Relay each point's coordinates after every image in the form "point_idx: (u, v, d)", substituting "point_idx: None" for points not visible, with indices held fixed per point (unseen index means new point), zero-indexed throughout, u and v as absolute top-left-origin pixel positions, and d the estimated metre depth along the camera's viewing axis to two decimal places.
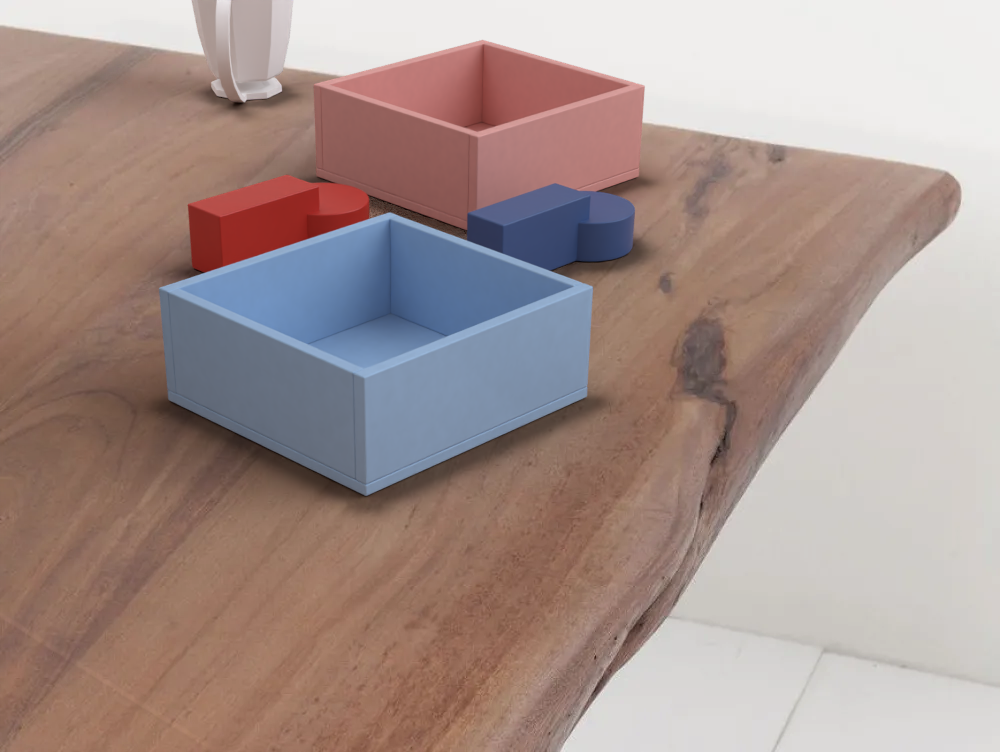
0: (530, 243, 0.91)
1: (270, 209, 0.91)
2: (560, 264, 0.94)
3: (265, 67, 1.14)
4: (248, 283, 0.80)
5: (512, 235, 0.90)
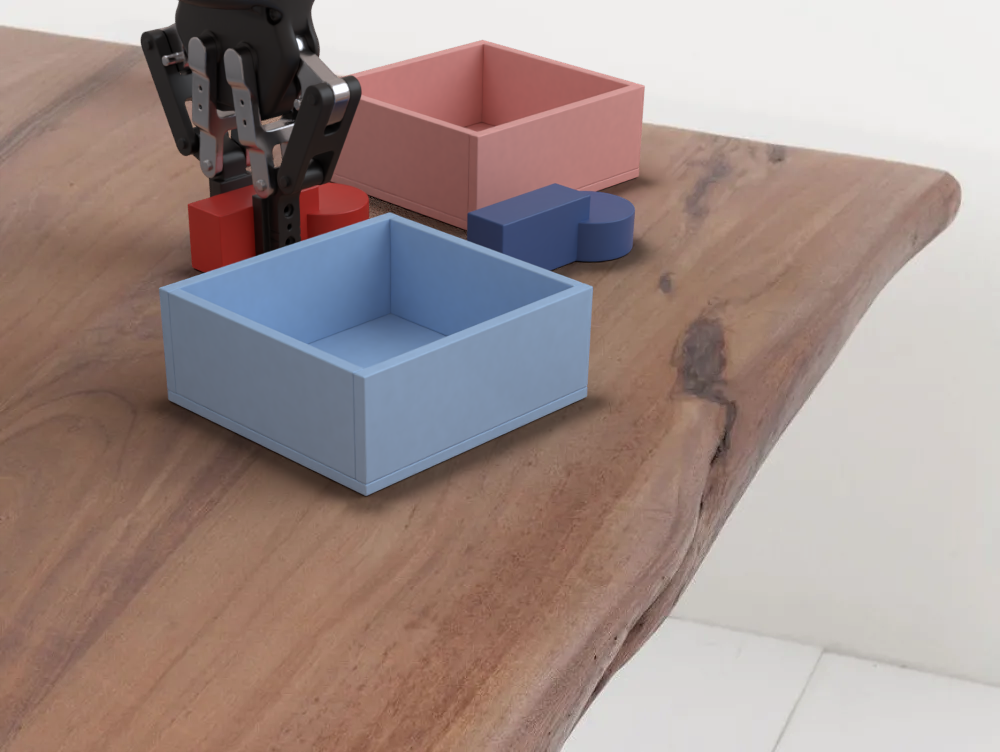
0: (530, 243, 0.91)
1: None
2: (560, 264, 0.94)
3: None
4: (248, 283, 0.80)
5: (512, 235, 0.90)
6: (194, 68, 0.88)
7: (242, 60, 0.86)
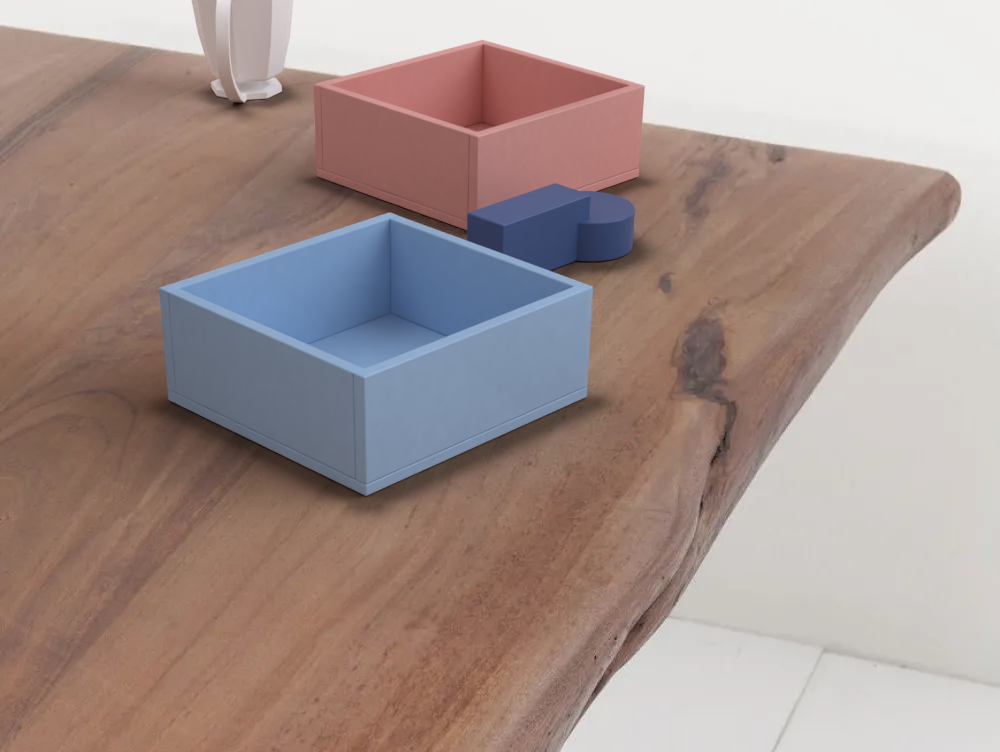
0: (530, 243, 0.91)
1: None
2: (560, 264, 0.94)
3: (265, 67, 1.14)
4: (248, 283, 0.80)
5: (512, 235, 0.90)
6: None
7: None
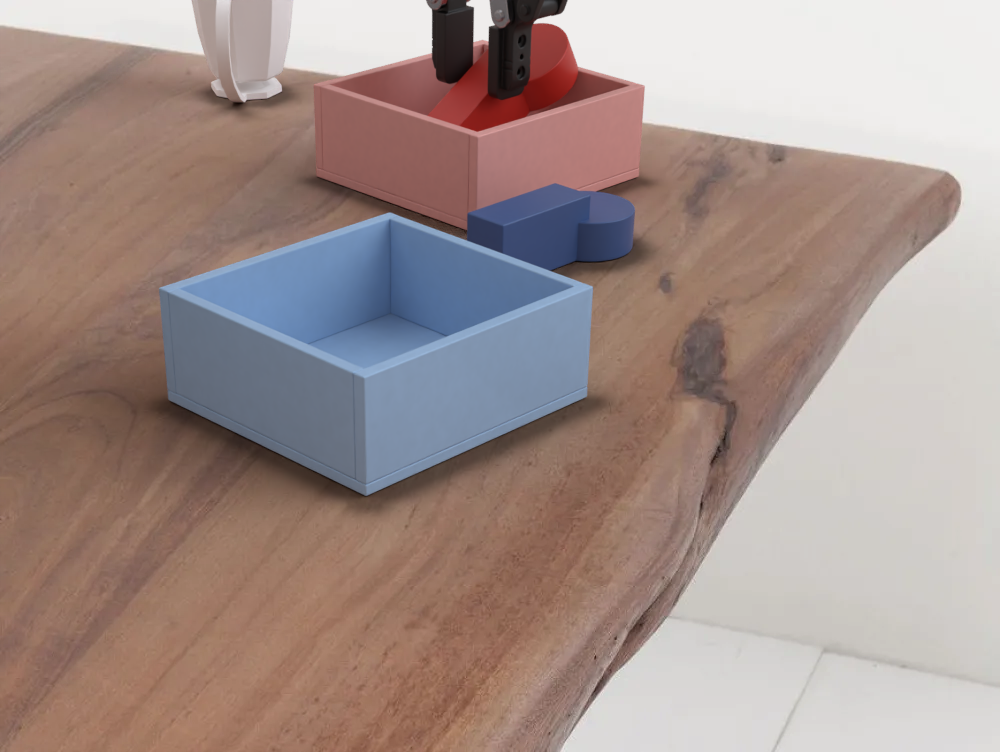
0: (530, 243, 0.91)
1: (488, 101, 1.01)
2: (560, 264, 0.94)
3: (264, 67, 1.14)
4: (248, 283, 0.80)
5: (512, 235, 0.90)
6: None
7: None
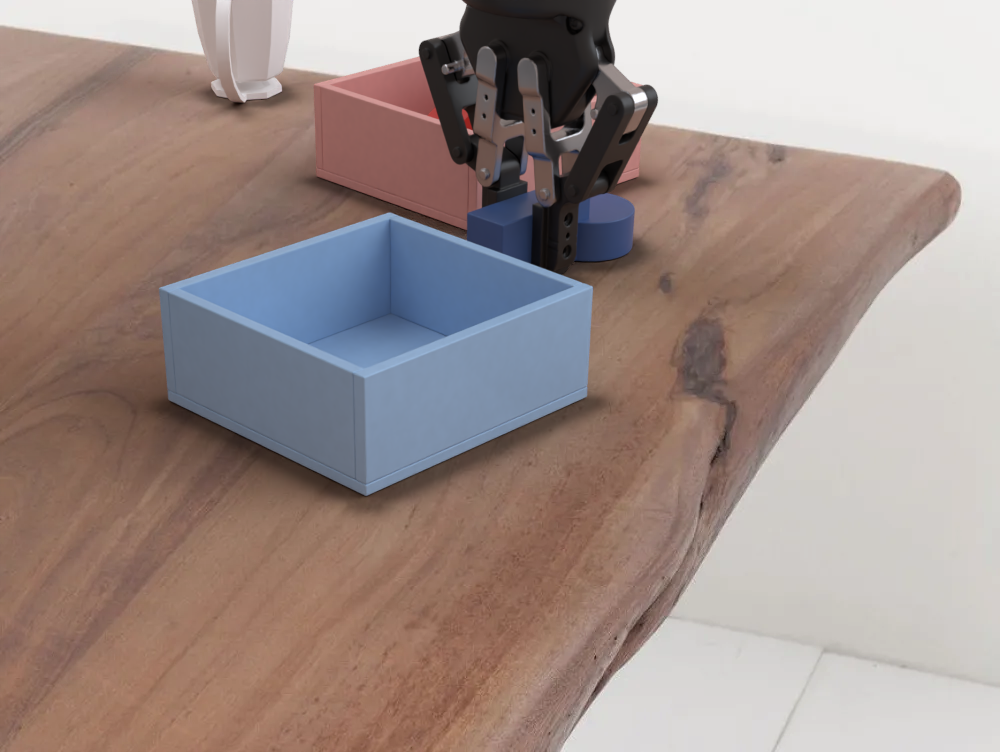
0: (530, 243, 0.91)
1: None
2: None
3: (264, 67, 1.14)
4: (248, 283, 0.80)
5: (512, 235, 0.90)
6: (482, 77, 0.88)
7: (538, 69, 0.86)
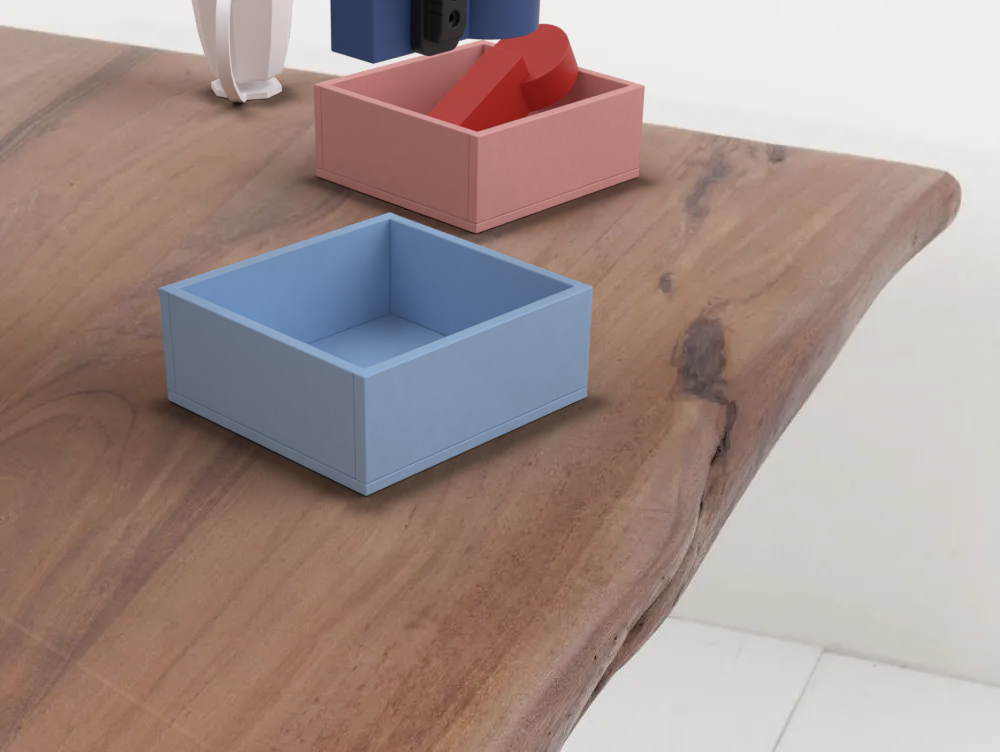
0: (409, 7, 0.74)
1: (488, 101, 1.01)
2: None
3: (265, 67, 1.14)
4: (248, 283, 0.80)
5: None
6: None
7: None
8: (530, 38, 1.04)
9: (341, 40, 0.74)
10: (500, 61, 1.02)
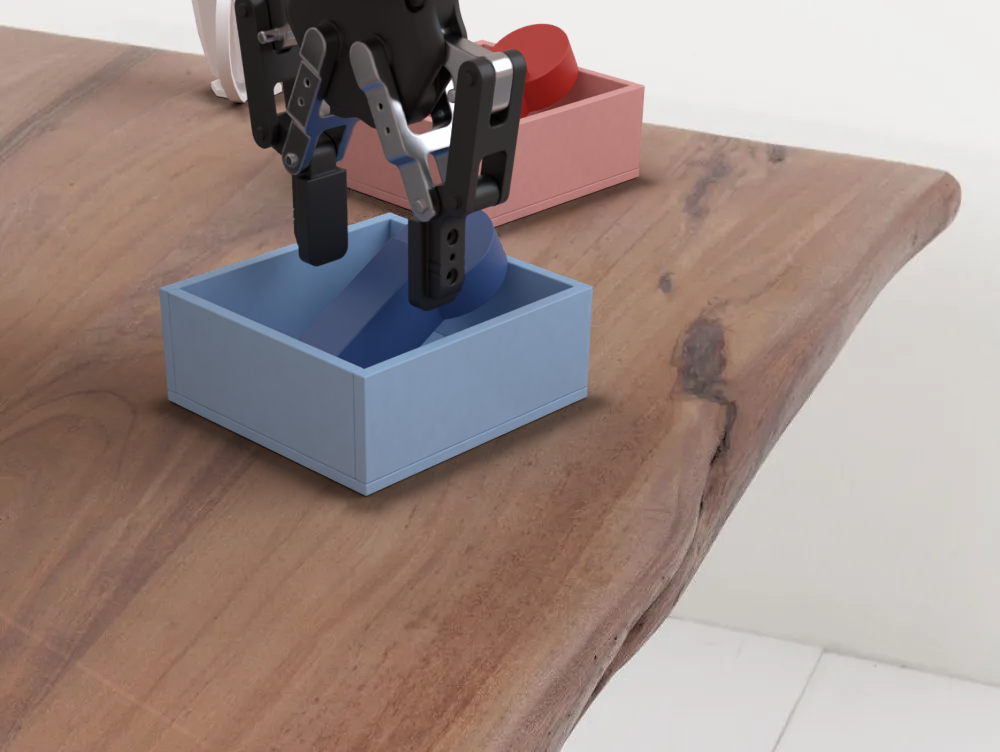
0: (377, 348, 0.78)
1: None
2: (425, 337, 0.79)
3: None
4: (248, 283, 0.80)
5: (350, 359, 0.77)
6: (310, 65, 0.72)
7: (371, 50, 0.70)
8: (530, 38, 1.04)
9: None
10: None
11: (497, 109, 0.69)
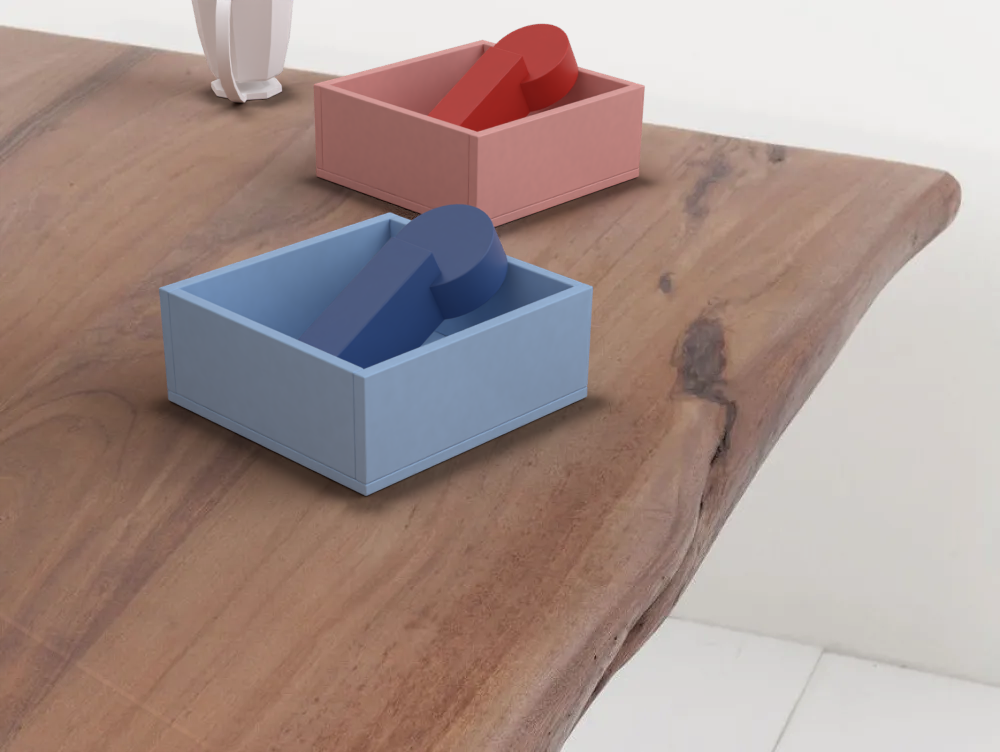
0: (377, 348, 0.78)
1: (488, 101, 1.01)
2: (425, 337, 0.79)
3: (265, 67, 1.14)
4: (248, 283, 0.80)
5: (350, 359, 0.77)
6: None
7: None
8: (530, 38, 1.04)
9: None
10: (500, 61, 1.02)
11: None
